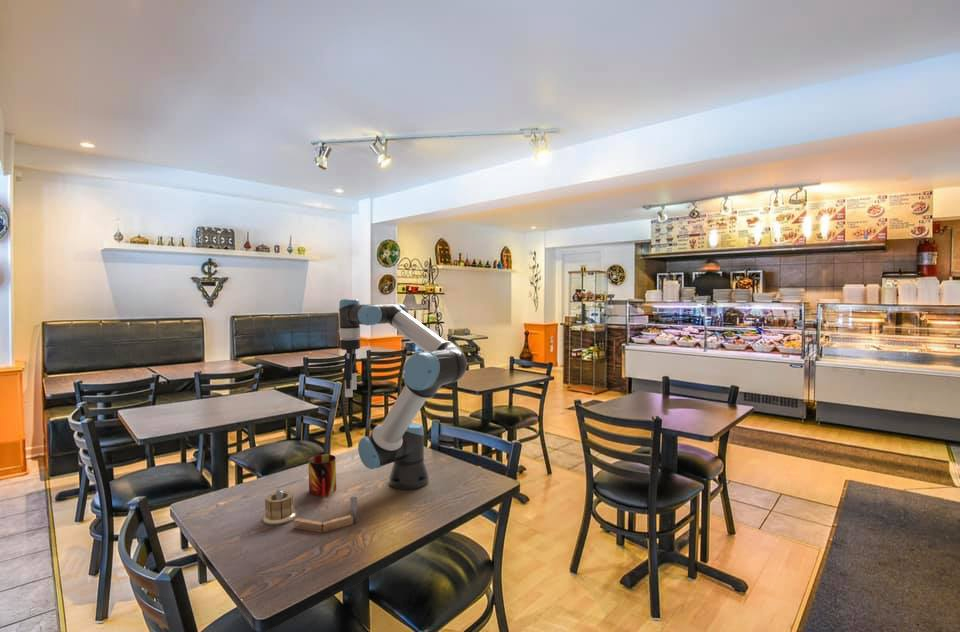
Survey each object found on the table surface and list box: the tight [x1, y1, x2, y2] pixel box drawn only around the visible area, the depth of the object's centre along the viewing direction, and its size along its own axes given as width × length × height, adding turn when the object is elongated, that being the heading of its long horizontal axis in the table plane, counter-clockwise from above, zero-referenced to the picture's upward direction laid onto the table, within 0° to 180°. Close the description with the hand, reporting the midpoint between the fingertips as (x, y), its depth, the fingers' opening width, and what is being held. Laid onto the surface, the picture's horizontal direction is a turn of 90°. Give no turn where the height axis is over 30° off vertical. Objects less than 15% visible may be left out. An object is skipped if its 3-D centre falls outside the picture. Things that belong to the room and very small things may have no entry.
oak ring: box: [264, 490, 294, 520], centre depth 155 cm, size 8×8×6 cm
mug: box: [308, 454, 337, 499], centre depth 175 cm, size 10×14×12 cm
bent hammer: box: [293, 496, 358, 533], centre depth 149 cm, size 19×6×8 cm, turn 98°
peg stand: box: [262, 489, 297, 526], centre depth 155 cm, size 10×10×9 cm
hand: (351, 393), depth 184 cm, fingers open, 13 cm apart
